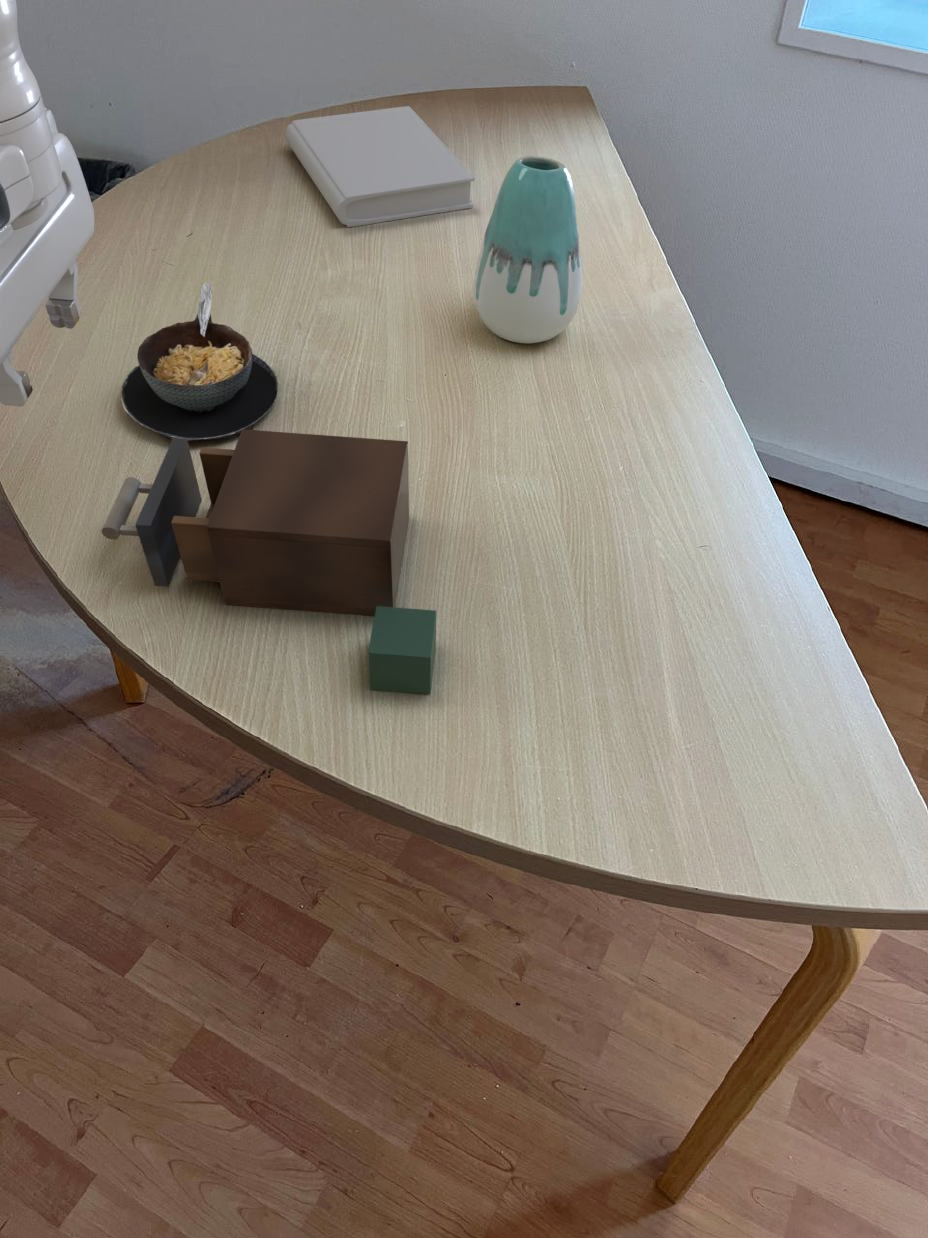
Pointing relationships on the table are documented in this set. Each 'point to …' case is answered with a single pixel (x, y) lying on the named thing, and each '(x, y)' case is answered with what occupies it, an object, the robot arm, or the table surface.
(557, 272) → the vase
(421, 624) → the block
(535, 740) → the table surface
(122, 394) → the soup bowl
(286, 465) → the cabinet
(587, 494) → the table surface
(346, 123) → the book
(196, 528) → the drawer
